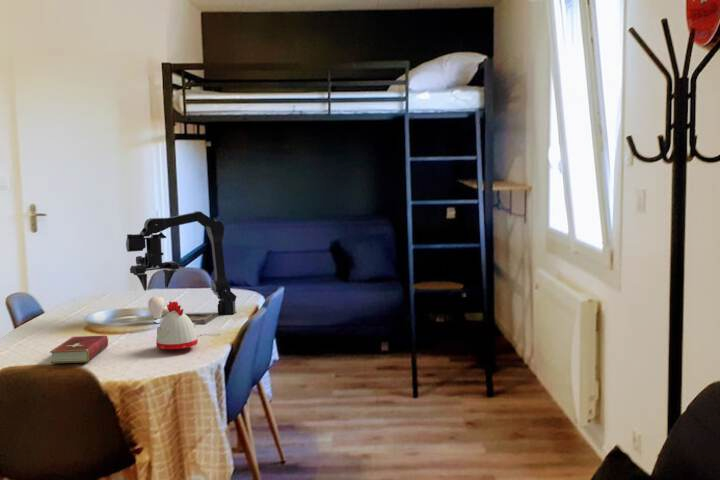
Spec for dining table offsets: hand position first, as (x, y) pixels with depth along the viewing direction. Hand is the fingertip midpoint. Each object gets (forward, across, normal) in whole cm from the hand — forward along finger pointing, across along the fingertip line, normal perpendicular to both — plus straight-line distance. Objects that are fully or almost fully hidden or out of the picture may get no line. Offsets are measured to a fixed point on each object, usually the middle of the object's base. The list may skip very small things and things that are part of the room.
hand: (156, 289), depth 291 cm
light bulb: (+14, +2, +3) cm, 14 cm away
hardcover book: (+14, +42, +26) cm, 51 cm away
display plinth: (+13, -11, +9) cm, 20 cm away
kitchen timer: (+14, +14, +40) cm, 44 cm away
